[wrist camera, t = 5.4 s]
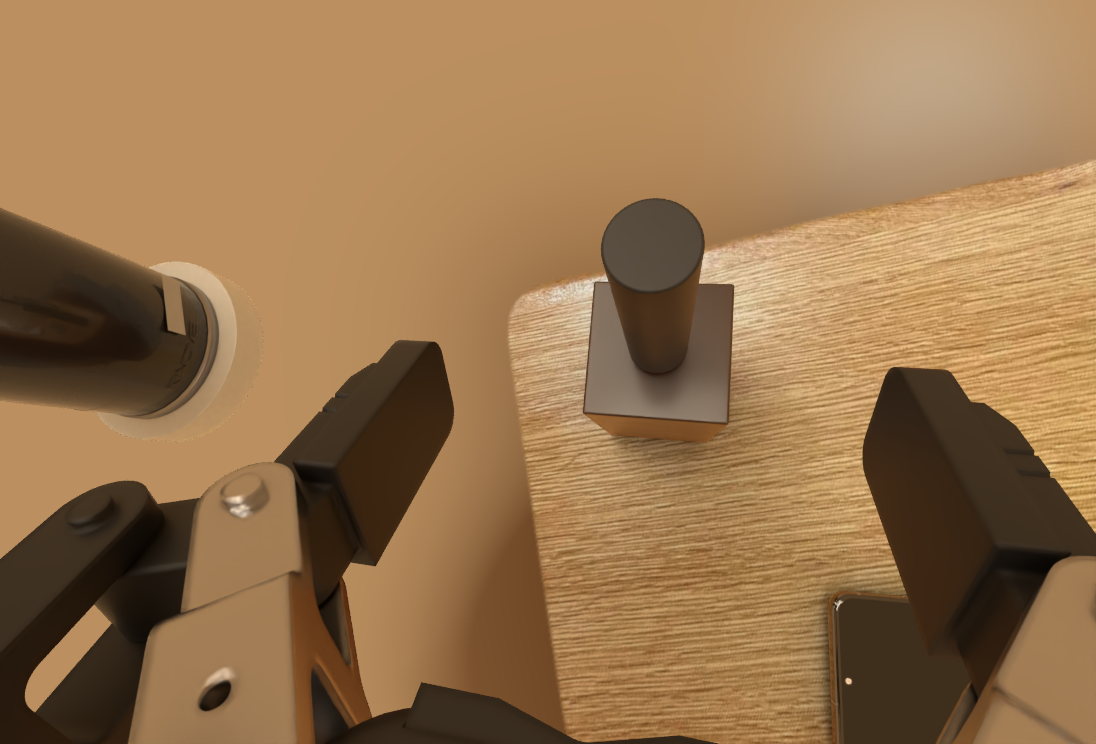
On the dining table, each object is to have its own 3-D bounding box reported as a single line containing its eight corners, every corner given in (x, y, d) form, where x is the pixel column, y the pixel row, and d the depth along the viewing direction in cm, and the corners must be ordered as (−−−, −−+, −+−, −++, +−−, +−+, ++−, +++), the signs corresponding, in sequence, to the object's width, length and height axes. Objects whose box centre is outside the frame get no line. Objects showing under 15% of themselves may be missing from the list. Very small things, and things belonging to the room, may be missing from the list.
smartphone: (1311, 843, 20) (837, 772, 23) (1278, 825, 21) (829, 759, 24) (1273, 629, 21) (829, 590, 24) (1244, 622, 22) (822, 585, 25)
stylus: (623, 369, 19) (589, 282, 11) (637, 316, 20) (614, 189, 11) (679, 382, 19) (691, 302, 10) (692, 328, 19) (715, 204, 10)
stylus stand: (610, 434, 29) (582, 413, 19) (617, 343, 30) (594, 280, 20) (706, 442, 28) (728, 425, 18) (711, 348, 29) (734, 283, 19)
